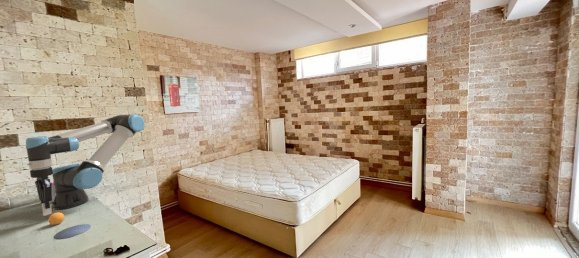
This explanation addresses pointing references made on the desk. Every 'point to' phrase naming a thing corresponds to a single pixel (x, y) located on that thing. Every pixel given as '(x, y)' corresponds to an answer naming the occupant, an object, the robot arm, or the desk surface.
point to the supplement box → (53, 192)
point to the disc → (72, 231)
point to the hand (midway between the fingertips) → (47, 214)
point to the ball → (56, 218)
